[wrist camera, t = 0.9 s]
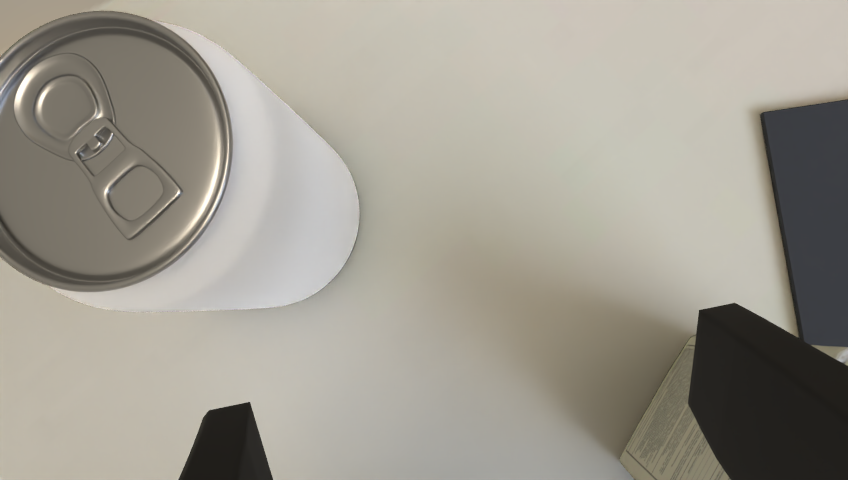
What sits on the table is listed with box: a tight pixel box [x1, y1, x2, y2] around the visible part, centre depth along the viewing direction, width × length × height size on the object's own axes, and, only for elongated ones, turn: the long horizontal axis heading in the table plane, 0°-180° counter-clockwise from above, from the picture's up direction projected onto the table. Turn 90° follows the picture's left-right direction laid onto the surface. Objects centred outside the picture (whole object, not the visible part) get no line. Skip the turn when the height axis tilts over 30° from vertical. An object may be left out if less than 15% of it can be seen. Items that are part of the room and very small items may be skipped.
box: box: [620, 335, 848, 480], centre depth 19 cm, size 5×4×11 cm
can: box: [0, 11, 360, 312], centre depth 21 cm, size 6×6×12 cm
